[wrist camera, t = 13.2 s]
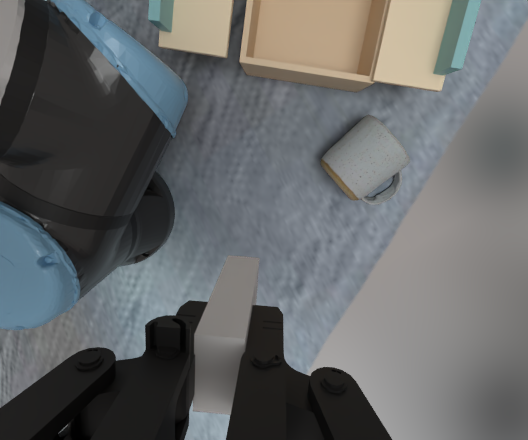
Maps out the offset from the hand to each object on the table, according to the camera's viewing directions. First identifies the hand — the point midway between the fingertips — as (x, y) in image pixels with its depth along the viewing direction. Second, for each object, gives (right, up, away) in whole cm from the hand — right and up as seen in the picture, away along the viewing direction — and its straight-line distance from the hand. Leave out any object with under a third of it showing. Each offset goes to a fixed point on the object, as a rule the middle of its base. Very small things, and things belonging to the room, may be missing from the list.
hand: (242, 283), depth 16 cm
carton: (+7, +26, +24) cm, 36 cm away
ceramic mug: (+14, +11, +28) cm, 34 cm away
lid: (+16, +22, +16) cm, 32 cm away
